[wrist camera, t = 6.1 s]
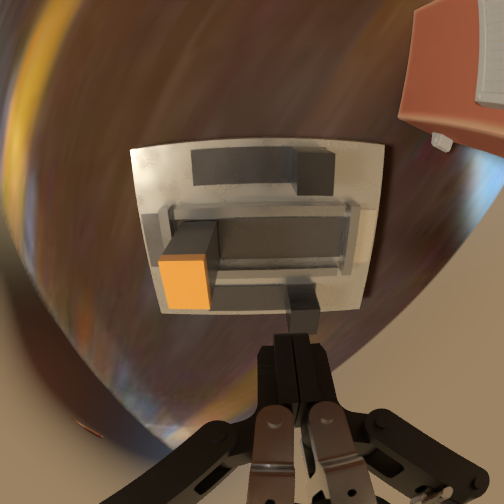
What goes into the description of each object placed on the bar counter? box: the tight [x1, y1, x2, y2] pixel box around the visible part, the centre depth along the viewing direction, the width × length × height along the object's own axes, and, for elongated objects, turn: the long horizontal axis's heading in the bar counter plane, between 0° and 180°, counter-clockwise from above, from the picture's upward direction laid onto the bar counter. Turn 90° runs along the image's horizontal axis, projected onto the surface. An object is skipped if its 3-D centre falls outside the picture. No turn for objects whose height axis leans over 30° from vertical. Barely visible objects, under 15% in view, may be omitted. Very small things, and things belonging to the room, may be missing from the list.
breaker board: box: [130, 137, 385, 335], centre depth 22 cm, size 16×20×6 cm
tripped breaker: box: [158, 221, 220, 309], centre depth 19 cm, size 4×3×6 cm
